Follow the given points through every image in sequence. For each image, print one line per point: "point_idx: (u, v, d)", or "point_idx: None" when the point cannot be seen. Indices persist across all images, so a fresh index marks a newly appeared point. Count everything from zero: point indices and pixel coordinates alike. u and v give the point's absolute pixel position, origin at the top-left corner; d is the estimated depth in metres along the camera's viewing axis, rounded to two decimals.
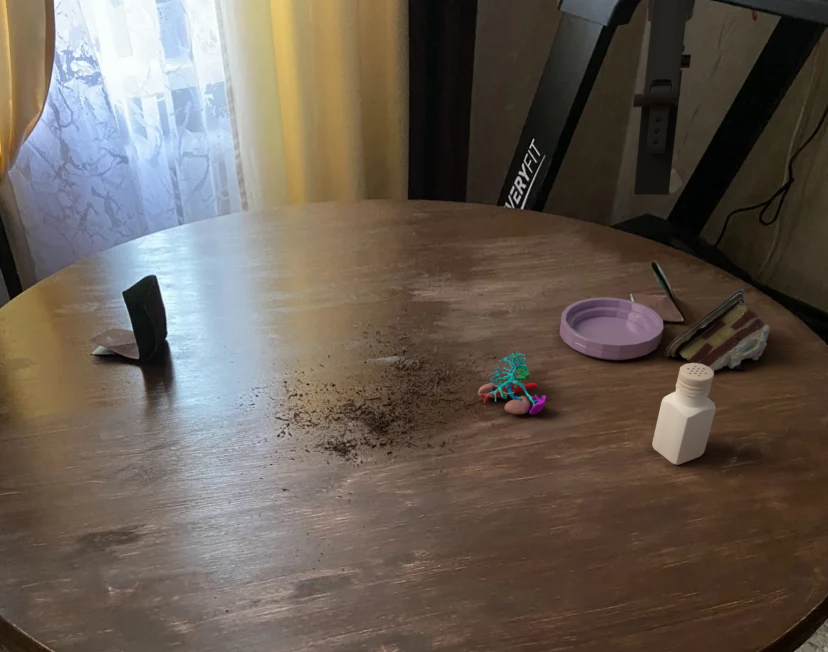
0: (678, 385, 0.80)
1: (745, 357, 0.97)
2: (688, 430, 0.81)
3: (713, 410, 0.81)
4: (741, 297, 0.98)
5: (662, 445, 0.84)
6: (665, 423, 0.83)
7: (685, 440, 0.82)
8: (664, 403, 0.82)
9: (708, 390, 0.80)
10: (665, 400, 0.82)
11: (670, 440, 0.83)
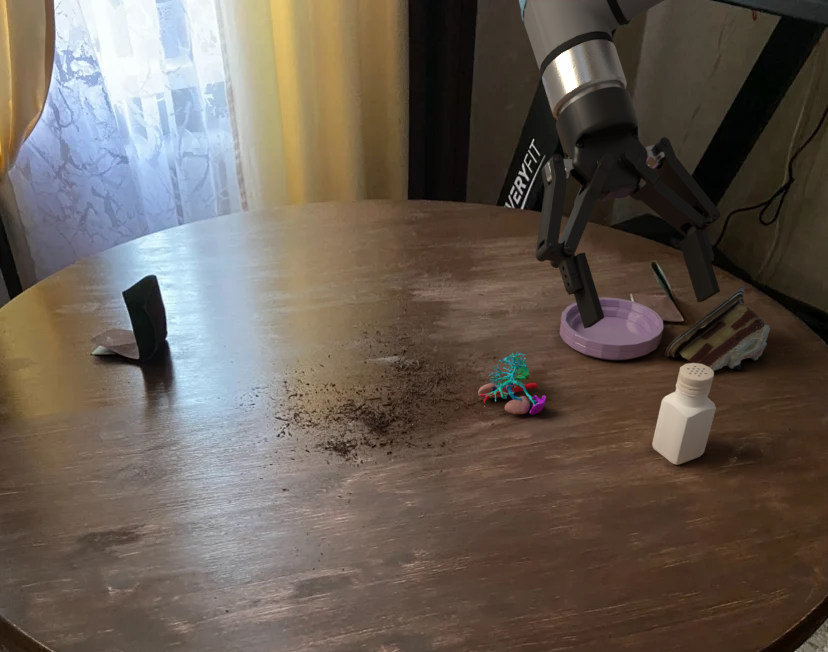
0: (678, 385, 0.80)
1: (745, 357, 0.97)
2: (688, 430, 0.81)
3: (713, 410, 0.81)
4: (741, 297, 0.98)
5: (662, 445, 0.84)
6: (665, 423, 0.83)
7: (685, 440, 0.82)
8: (664, 403, 0.82)
9: (708, 390, 0.80)
10: (665, 400, 0.82)
11: (670, 440, 0.83)
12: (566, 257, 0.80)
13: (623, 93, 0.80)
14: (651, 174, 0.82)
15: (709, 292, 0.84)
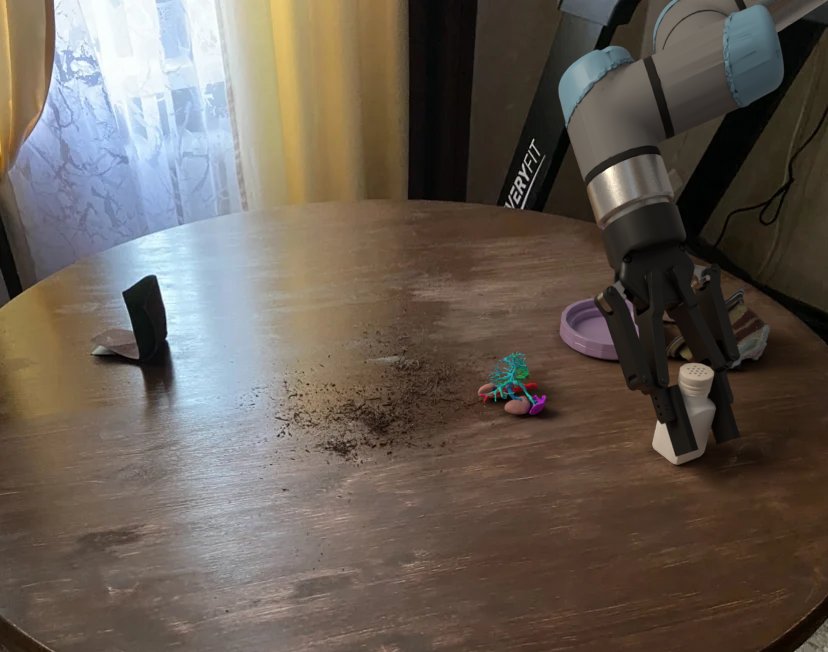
0: None
1: (745, 357, 0.97)
2: None
3: (713, 410, 0.81)
4: (741, 297, 0.98)
5: (662, 445, 0.84)
6: None
7: None
8: None
9: (708, 390, 0.80)
10: None
11: (670, 440, 0.83)
12: (663, 389, 0.79)
13: (672, 208, 0.78)
14: (691, 296, 0.80)
15: (728, 437, 0.81)
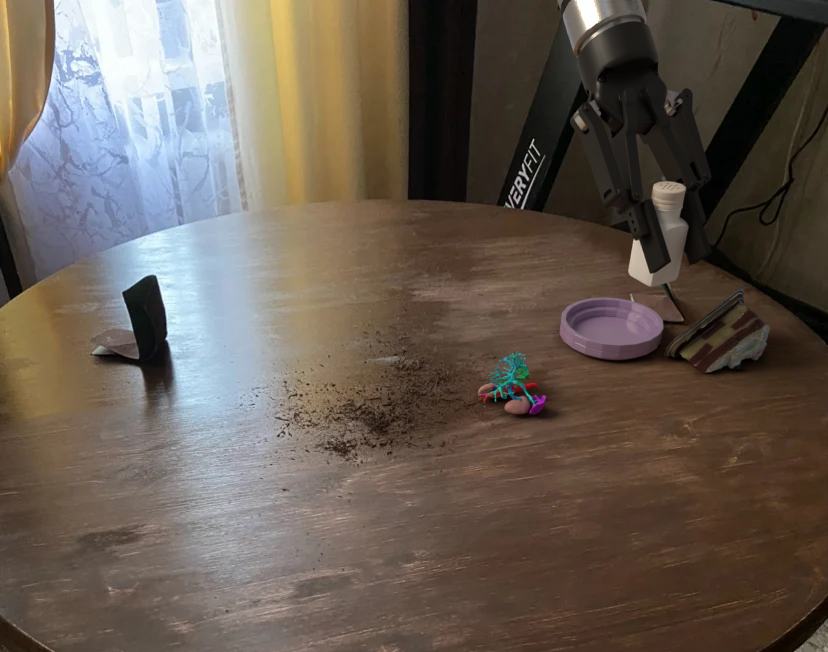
0: None
1: (745, 357, 0.97)
2: None
3: (686, 228, 0.84)
4: (741, 297, 0.98)
5: (637, 268, 0.87)
6: (640, 244, 0.86)
7: None
8: None
9: (680, 205, 0.83)
10: None
11: (645, 261, 0.86)
12: (637, 204, 0.82)
13: (644, 27, 0.81)
14: (663, 116, 0.83)
15: (700, 254, 0.84)
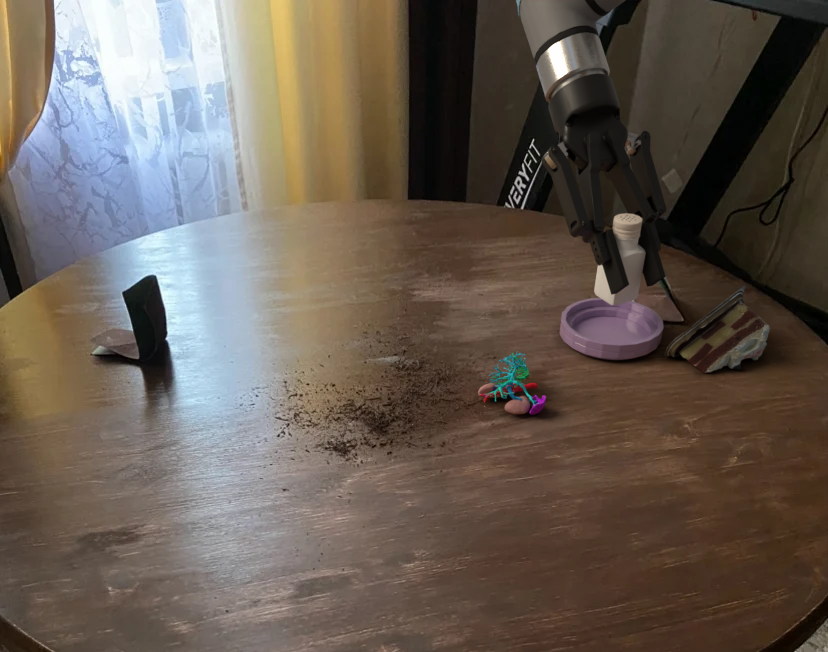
0: (613, 231, 0.94)
1: (745, 357, 0.97)
2: None
3: (643, 254, 0.95)
4: (741, 297, 0.98)
5: (601, 289, 0.99)
6: None
7: None
8: None
9: (638, 234, 0.94)
10: None
11: None
12: (599, 233, 0.94)
13: (606, 79, 0.93)
14: (624, 156, 0.94)
15: (656, 277, 0.95)
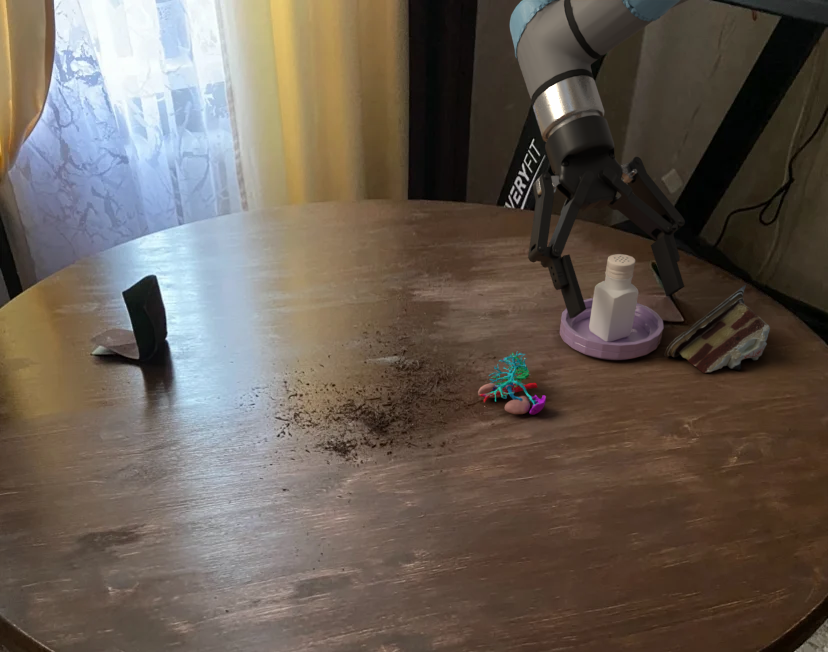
0: (606, 272, 0.98)
1: (745, 357, 0.97)
2: (615, 310, 0.99)
3: (636, 293, 0.99)
4: (741, 297, 0.98)
5: (596, 326, 1.02)
6: (597, 306, 1.00)
7: (614, 319, 0.99)
8: (596, 289, 0.99)
9: (631, 275, 0.97)
10: (597, 286, 0.99)
11: (602, 320, 1.00)
12: (554, 258, 0.95)
13: (601, 120, 0.95)
14: (625, 188, 0.98)
15: (675, 287, 0.99)
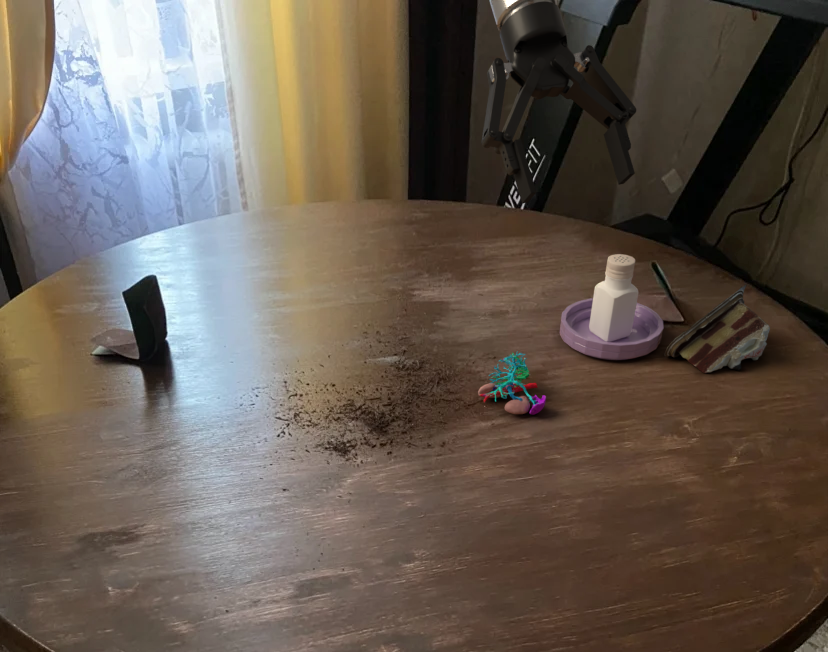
0: (606, 272, 0.98)
1: (745, 357, 0.97)
2: (615, 310, 0.99)
3: (636, 293, 0.99)
4: (741, 297, 0.98)
5: (596, 326, 1.02)
6: (597, 306, 1.00)
7: (614, 319, 0.99)
8: (596, 289, 0.99)
9: (631, 275, 0.97)
10: (597, 286, 0.99)
11: (602, 320, 1.00)
12: (505, 143, 0.98)
13: (552, 7, 0.98)
14: (577, 75, 1.00)
15: (626, 174, 1.02)
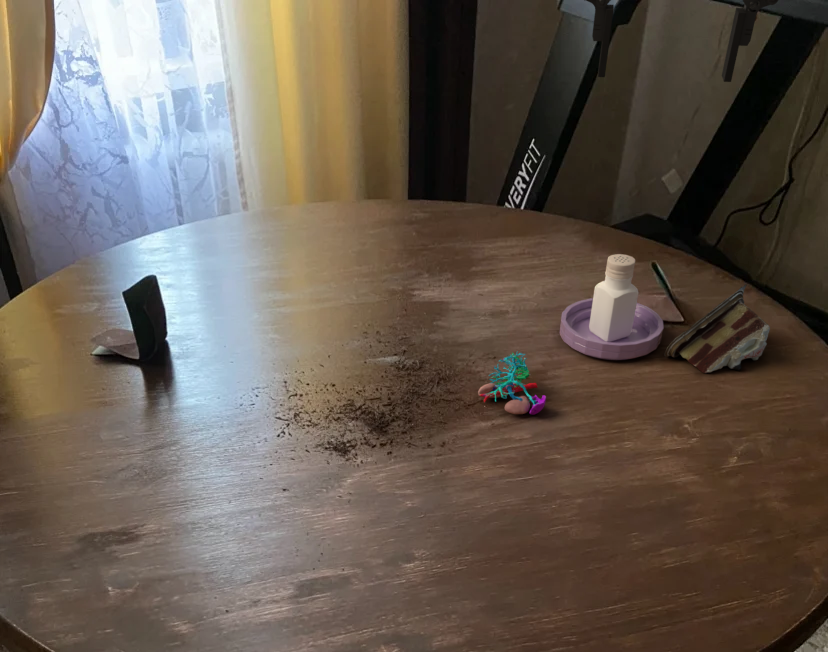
0: (606, 272, 0.98)
1: (745, 357, 0.97)
2: (615, 310, 0.99)
3: (636, 293, 0.99)
4: (741, 297, 0.98)
5: (596, 326, 1.02)
6: (597, 306, 1.00)
7: (614, 319, 0.99)
8: (596, 289, 0.99)
9: (631, 275, 0.97)
10: (597, 286, 0.99)
11: (602, 320, 1.00)
12: (597, 7, 0.90)
13: None
14: None
15: (723, 77, 0.92)
